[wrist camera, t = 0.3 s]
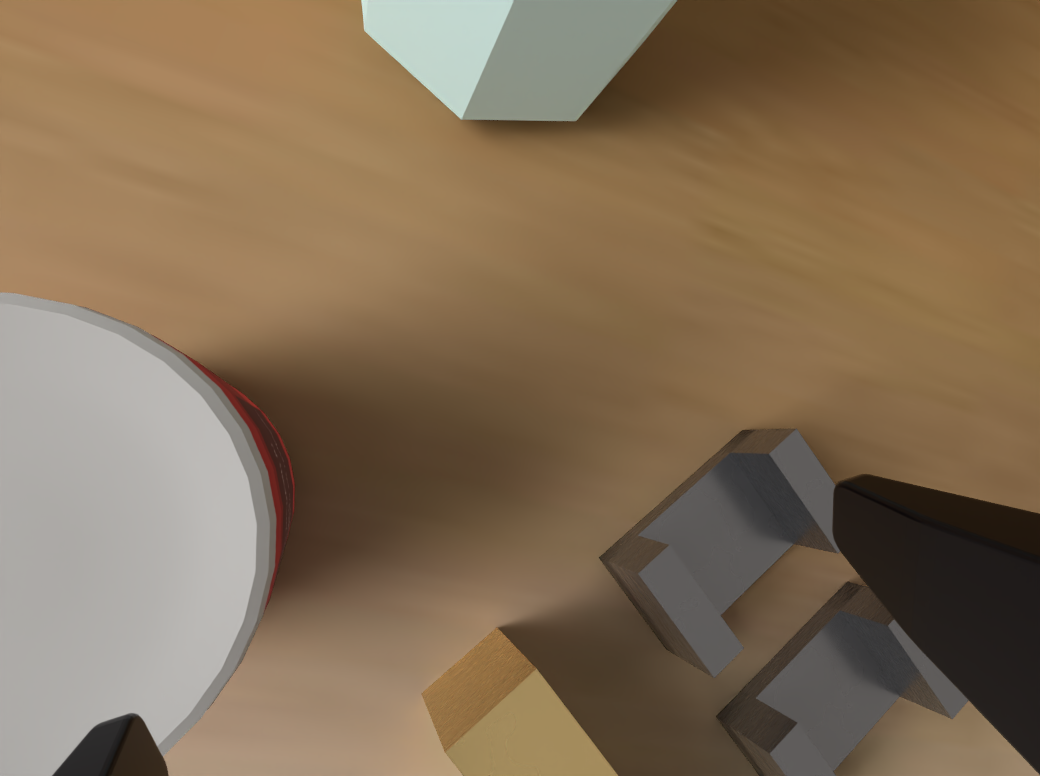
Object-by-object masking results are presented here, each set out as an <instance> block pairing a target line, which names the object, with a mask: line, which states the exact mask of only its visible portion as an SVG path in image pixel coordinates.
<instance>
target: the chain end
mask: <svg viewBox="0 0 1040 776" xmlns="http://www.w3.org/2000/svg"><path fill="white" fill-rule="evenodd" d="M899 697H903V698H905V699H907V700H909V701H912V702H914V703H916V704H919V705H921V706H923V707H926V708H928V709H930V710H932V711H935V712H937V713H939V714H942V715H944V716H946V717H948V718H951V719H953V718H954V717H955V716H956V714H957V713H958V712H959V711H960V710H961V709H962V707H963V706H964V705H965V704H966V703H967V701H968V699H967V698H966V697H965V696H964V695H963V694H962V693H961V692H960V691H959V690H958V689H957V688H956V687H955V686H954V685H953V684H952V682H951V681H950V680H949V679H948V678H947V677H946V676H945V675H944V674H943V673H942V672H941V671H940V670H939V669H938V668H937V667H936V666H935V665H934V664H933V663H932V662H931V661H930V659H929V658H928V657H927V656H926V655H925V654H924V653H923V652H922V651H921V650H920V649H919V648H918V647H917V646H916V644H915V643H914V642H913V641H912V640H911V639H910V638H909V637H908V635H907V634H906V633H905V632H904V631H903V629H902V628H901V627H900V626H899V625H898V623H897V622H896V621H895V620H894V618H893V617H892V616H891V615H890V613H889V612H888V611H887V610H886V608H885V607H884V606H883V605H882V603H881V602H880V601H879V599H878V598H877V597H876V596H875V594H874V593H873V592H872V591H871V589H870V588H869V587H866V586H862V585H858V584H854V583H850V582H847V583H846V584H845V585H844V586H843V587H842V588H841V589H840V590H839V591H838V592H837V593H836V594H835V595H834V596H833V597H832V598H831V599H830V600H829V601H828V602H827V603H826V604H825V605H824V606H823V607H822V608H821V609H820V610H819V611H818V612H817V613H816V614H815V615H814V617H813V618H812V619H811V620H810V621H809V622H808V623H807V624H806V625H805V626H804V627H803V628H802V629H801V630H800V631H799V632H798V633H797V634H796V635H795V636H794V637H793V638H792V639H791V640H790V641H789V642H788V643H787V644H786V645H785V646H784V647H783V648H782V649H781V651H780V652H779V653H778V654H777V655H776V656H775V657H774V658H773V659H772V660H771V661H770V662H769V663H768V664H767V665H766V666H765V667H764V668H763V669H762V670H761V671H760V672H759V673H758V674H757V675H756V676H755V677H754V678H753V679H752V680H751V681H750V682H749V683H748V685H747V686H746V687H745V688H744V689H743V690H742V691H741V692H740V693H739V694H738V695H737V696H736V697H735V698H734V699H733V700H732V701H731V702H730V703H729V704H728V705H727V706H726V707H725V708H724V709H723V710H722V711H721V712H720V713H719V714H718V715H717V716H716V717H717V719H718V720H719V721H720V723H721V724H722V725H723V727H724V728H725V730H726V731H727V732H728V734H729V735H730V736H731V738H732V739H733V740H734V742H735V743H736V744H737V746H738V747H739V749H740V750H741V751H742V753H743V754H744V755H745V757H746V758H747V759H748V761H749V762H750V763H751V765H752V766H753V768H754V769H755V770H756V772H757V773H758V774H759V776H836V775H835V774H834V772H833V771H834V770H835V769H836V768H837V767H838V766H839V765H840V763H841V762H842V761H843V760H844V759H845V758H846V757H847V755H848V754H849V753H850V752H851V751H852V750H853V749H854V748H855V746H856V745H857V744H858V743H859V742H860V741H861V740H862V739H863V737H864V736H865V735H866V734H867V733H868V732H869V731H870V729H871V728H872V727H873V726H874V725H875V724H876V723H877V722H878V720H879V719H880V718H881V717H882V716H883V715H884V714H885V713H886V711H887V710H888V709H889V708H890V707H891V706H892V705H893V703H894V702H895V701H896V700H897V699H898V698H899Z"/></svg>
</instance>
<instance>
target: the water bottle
mask: <svg viewBox="0 0 1040 776" xmlns="http://www.w3.org/2000/svg"><path fill="white" fill-rule="evenodd" d="M676 2H677V0H362V10H363V20H364V30H365V32H366V33H367V34H368V35H370V36H371V37H372V38H373V39H374V40H375V41H376V42H377V43H378V44H379V45H380V46H382V47H383V48H384V49H385V50H386V51H387V52H388V53H389V54H390V55H391V56H392V57H394V58H395V59H396V60H397V61H398V62H399V63H400V64H401V65H402V66H403V67H405V68H406V69H407V70H408V71H409V72H410V73H411V74H412V75H413V76H414V77H415V78H417V79H418V80H419V81H420V82H421V83H422V84H423V85H424V86H425V87H426V88H427V89H429V90H430V91H431V92H432V93H433V94H434V95H435V96H436V97H437V98H438V99H440V100H441V101H442V102H443V103H444V104H445V105H446V106H447V107H448V108H449V109H450V110H452V111H453V112H454V113H455V114H456V115H457V116H458V117H459V118H460V119H461V120H527V121H577V120H578V118H579V117H580V116H581V115H582V114H583V113H584V111H585V110H586V109H587V108H588V107H589V105H590V104H591V103H592V102H593V101H594V100H595V98H596V97H597V96H598V95H599V94H600V93H601V91H602V90H603V89H604V88H605V87H606V86H607V84H608V83H609V82H610V81H611V80H612V79H613V77H614V76H615V75H616V74H617V73H618V72H619V70H620V69H621V68H622V67H623V66H624V65H625V63H626V62H627V61H628V60H629V59H630V58H631V56H632V55H633V54H634V53H635V52H636V51H637V49H638V48H639V47H640V46H641V45H642V43H643V42H644V41H645V40H646V39H647V37H648V36H649V35H650V34H651V32H652V31H653V30H654V29H655V27H656V26H657V25H658V24H659V23H660V21H661V20H662V19H663V18H664V16H665V15H666V14H667V13H668V11H669V10H670V9H671V8H672V6H673V5H674V4H675V3H676Z"/></svg>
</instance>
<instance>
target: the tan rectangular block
mask: <svg viewBox="0 0 1040 776" xmlns="http://www.w3.org/2000/svg"><path fill="white" fill-rule="evenodd" d="M422 696H423V699H424V701H425V704H426V706H427V709H428V711H429V714H430V716H431V719H432V721H433V724H434V726H435V729H436V731H437V734H438V736H439V739H440V741H441V744H442V746H443V749H444V751H445V753H446V754H447V756H448V757H449V758H450V759H451V761H452V762H453V763H454V764H455V766H456V767H457V768H458V769H459V771H460V772H461V773H462V774H463V776H618V775H617V773H616V772H615V771H614V770H613V768H612V767H611V766H610V764H609V763H608V762H607V760H606V759H605V758H604V756H603V755H602V754H601V752H600V751H599V750H598V749H597V747H596V746H595V745H594V743H593V742H592V741H591V739H590V738H589V737H588V735H587V734H586V733H585V731H584V730H583V729H582V728H581V726H580V725H579V724H578V722H577V721H576V720H575V718H574V717H573V716H572V714H571V713H570V712H569V710H568V709H567V708H566V707H565V705H564V704H563V703H562V701H561V700H560V699H559V697H558V696H557V695H556V693H555V692H554V691H553V689H552V688H551V687H550V686H549V684H548V683H547V682H546V680H545V679H544V678H543V676H542V675H541V674H540V672H539V671H538V670H537V669H536V668H535V666H534V665H533V664H532V663H531V662H530V661H529V660H528V659H527V658H526V657H525V656H524V655H523V654H522V653H521V652H520V651H519V650H518V649H517V648H516V647H515V646H514V645H513V643H512V642H511V641H510V640H509V639H508V638H507V637H506V636H505V635H504V634H503V633H502V632H501V631H500V630H499V629H498V628H496V629H495V630H493V631H492V632H491V633H490V634H489V635H488V636H487V637H486V638H484V639H483V640H482V641H481V642H480V643H479V644H478V645H476V646H475V647H474V648H473V649H472V650H471V651H470V652H468V653H467V654H466V655H465V656H464V657H463V658H462V659H460V660H459V661H458V662H457V663H456V664H455V665H454V666H452V667H451V668H450V669H449V670H448V671H447V672H446V673H444V674H443V675H442V676H441V677H440V678H439V679H438V680H436V681H435V682H434V683H433V684H432V685H431V686H430V687H428V688H427V689H426V690H425V691H424V692H423V693H422Z"/></svg>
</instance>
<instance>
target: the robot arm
mask: <svg viewBox="0 0 1040 776" xmlns="http://www.w3.org/2000/svg"><path fill="white" fill-rule="evenodd" d="M832 533H833V538H834V541H835V543H836V545H837V547H838V549H839V550H840V551H841V553H842V554H843V555H844V556H845V558H846V559H847V560H848V562H849V563H850V564H851V565H852V567H853V568H854V569H855V570H856V572H857V573H858V574H859V575H860V577H861V578H862V579H863V581H864V582H865V583H866V584H867V586H868V587H869V588H870V589H871V591H872V592H873V593H874V594H875V596H876V597H877V598H878V599H879V601H880V602H881V603H882V605H883V606H884V607H885V608H886V610H887V611H888V612H889V613H890V615H891V616H892V617H893V618H894V620H895V621H896V622H897V623H898V625H899V626H900V627H901V628H902V629H903V631H904V632H905V633H906V634H907V635H908V637H909V638H910V639H911V640H912V641H913V642H914V643H915V644H916V646H917V647H918V648H919V649H920V650H921V651H922V652H923V653H924V654H925V655H926V656H927V657H928V658H929V659H930V661H931V662H932V663H933V664H934V665H935V666H936V667H937V668H938V669H939V670H940V671H941V672H942V673H943V674H944V675H945V676H946V677H947V678H948V679H949V680H950V681H951V682H952V684H953V685H954V686H955V687H956V688H957V689H958V690H959V691H960V692H961V693H962V694H963V695H964V696H965V697H966V698H967V699H968V700H969V701H970V702H971V703H972V704H973V705H974V707H975V708H976V709H977V710H978V711H979V712H980V713H981V714H982V715H983V716H984V717H985V718H986V719H987V720H988V721H989V722H990V723H991V724H992V725H993V726H994V727H995V728H996V729H997V731H998V732H999V733H1000V734H1001V735H1002V736H1003V737H1004V738H1005V739H1006V740H1007V741H1008V742H1009V743H1010V744H1011V745H1012V746H1013V747H1014V748H1015V749H1016V750H1017V751H1018V752H1019V754H1020V755H1021V756H1022V757H1023V758H1024V759H1025V760H1026V761H1027V762H1028V763H1029V764H1030V765H1031V766H1032V767H1033V768H1034V769H1035V770H1036V771H1037V772H1038V773H1039V774H1040V514H1039V513H1035V512H1030V511H1026V510H1021V509H1017V508H1013V507H1008V506H1004V505H1000V504H995V503H991V502H987V501H982V500H978V499H974V498H969V497H965V496H960V495H956V494H952V493H947V492H943V491H939V490H934V489H930V488H926V487H921V486H917V485H913V484H908V483H904V482H899V481H895V480H891V479H886V478H882V477H878V476H873V475H869V474H861V475H857V476H854V477H851V478H848V479H845V480H842V481H840V482H838V483H837V484H836V486H835V488H834V492H833V518H832ZM52 776H168V770H167V766H166V763H165V760H164V758H163V756H162V754H161V752H160V750H159V749H158V747H157V745H156V743H155V741H154V739H153V737H152V735H151V733H150V731H149V730H148V728H147V726H146V724H145V722H144V720H143V719H142V718H141V717H140V716H139V715H138V714H136V713H128V714H125V715H122V716H119V717H116V718H113V719H110V720H107V721H104V722H101V723H99V724H97V725H96V726H94V727H93V728H92V729H91V730H90V731H89V732H88V734H87V735H86V736H85V737H84V738H83V739H82V741H81V742H80V743H79V744H78V745H77V747H76V748H75V749H74V750H73V751H72V752H71V754H70V755H69V756H68V757H67V758H66V759H65V761H64V762H63V763H62V764H61V765H60V767H59V768H58V769H57V770H56V771H55V772H54V774H53V775H52Z"/></svg>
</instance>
